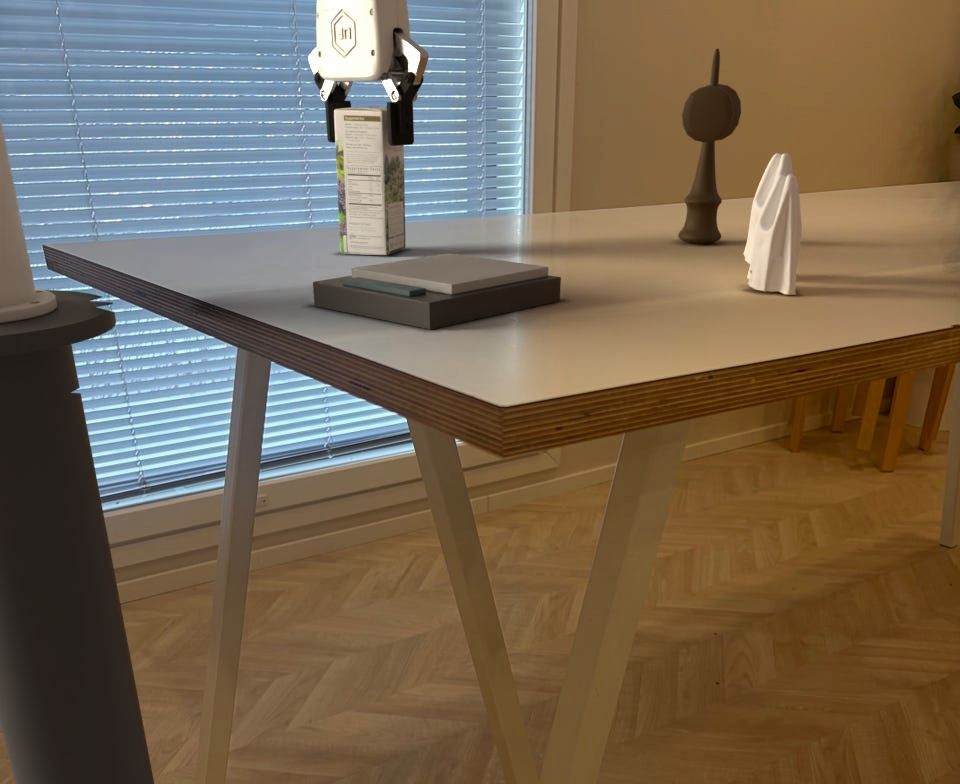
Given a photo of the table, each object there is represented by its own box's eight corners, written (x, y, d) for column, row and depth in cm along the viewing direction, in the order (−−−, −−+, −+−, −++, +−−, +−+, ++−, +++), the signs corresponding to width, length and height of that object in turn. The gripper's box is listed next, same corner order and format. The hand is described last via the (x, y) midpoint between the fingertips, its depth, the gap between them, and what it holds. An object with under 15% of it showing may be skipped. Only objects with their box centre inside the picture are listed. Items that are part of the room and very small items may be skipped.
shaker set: (740, 272, 102) (754, 150, 97) (783, 273, 102) (800, 150, 97) (749, 294, 92) (765, 158, 87) (797, 295, 91) (816, 158, 86)
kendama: (728, 238, 125) (748, 49, 116) (721, 249, 117) (742, 46, 107) (678, 236, 127) (694, 49, 117) (668, 247, 118) (684, 47, 109)
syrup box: (360, 247, 119) (353, 106, 112) (408, 249, 117) (403, 106, 110) (339, 254, 114) (330, 107, 107) (389, 256, 112) (383, 107, 105)
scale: (430, 329, 79) (429, 291, 78) (314, 306, 87) (311, 271, 86) (560, 300, 89) (561, 267, 88) (445, 282, 98) (445, 251, 96)
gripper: (276, -44, 105) (292, 142, 113) (392, -58, 94) (400, 148, 103) (332, -39, 110) (344, 139, 118) (448, -52, 99) (452, 144, 108)
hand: (370, 143), depth 110 cm, fingers open, 9 cm apart
